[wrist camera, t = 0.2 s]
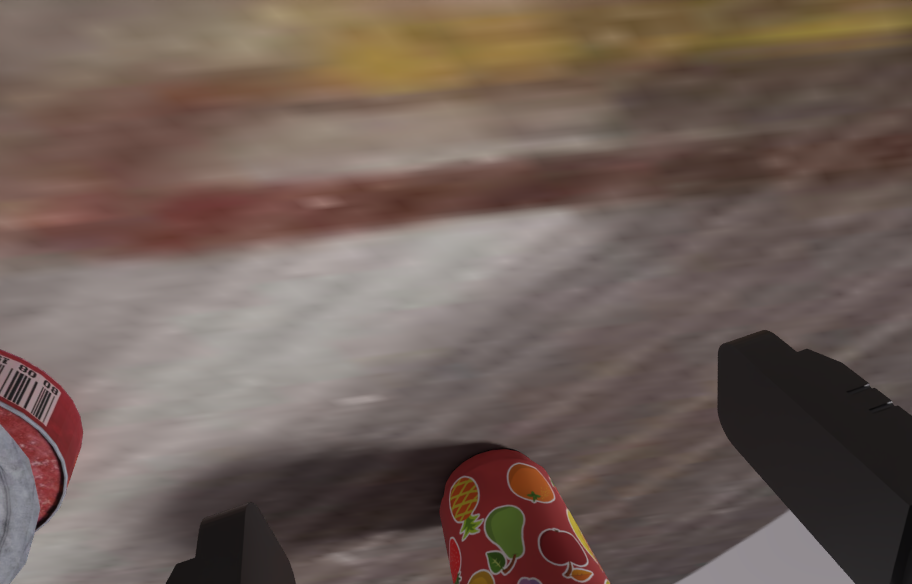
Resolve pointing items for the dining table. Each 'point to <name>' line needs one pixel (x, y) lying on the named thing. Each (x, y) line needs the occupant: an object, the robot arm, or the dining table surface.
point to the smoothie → (512, 525)
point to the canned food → (32, 455)
